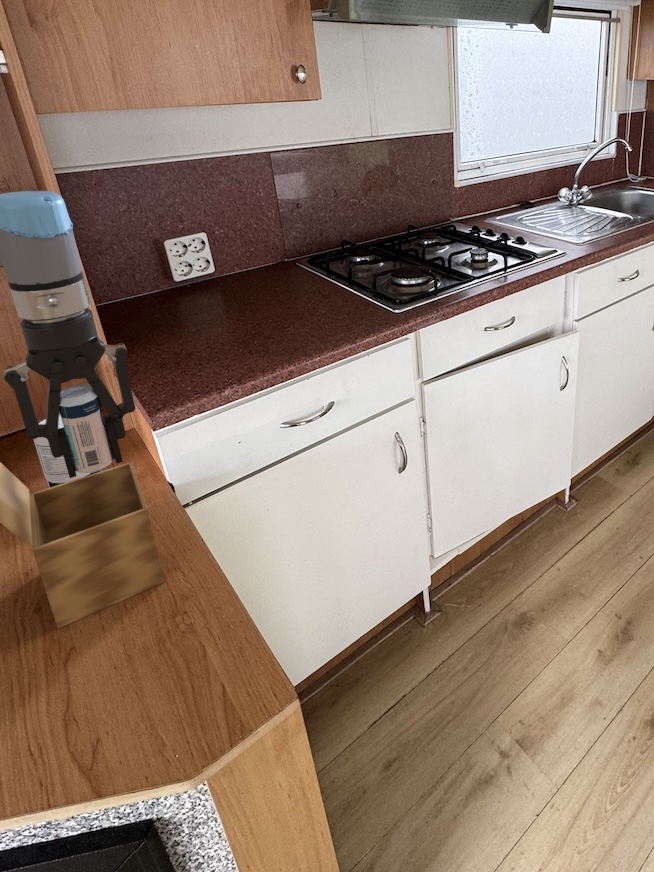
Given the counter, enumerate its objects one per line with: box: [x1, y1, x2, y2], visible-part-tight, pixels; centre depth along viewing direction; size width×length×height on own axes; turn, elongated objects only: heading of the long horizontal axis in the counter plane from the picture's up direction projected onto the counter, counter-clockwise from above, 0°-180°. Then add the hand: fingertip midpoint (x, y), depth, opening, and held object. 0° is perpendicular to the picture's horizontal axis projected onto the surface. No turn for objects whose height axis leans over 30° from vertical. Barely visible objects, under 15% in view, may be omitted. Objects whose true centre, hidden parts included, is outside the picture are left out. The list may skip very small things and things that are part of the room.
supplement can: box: [32, 413, 105, 488], centre depth 102 cm, size 8×8×15 cm
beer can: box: [59, 383, 115, 473], centre depth 80 cm, size 5×5×12 cm
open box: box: [29, 461, 165, 629], centre depth 86 cm, size 13×14×14 cm
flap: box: [0, 461, 32, 548], centre depth 78 cm, size 6×14×1 cm
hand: (95, 464), depth 82 cm, fingers closed on beer can, 5 cm apart
